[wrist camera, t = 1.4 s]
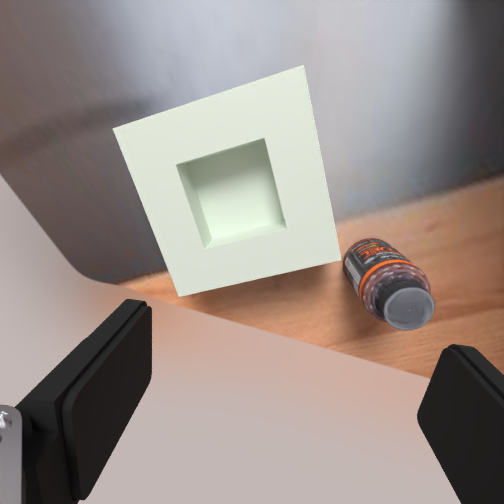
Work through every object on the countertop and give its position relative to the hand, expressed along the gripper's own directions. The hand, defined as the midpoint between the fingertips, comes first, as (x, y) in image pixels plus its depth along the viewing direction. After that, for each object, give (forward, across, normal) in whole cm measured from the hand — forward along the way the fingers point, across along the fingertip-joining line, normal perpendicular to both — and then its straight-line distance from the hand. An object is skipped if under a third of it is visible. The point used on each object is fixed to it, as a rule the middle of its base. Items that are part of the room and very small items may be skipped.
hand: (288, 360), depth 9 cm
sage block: (+25, +4, -2) cm, 25 cm away
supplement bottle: (+25, -11, +4) cm, 28 cm away
